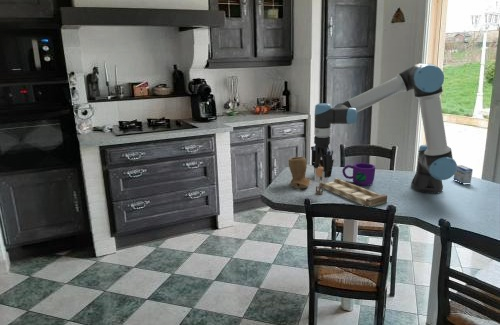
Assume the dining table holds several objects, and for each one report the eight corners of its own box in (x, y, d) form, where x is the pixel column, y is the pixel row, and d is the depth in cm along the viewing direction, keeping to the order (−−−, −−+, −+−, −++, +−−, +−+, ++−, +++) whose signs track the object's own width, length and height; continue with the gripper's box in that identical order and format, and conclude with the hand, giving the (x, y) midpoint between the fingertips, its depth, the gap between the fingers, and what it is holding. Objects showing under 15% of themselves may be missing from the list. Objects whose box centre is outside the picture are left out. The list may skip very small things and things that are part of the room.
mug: (376, 182, 213) (377, 164, 210) (370, 188, 204) (372, 169, 201) (345, 177, 222) (346, 160, 219) (338, 182, 212) (339, 165, 210)
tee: (323, 193, 196) (324, 187, 195) (318, 195, 194) (319, 188, 193) (319, 191, 199) (319, 185, 198) (314, 193, 197) (315, 186, 196)
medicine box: (452, 180, 216) (455, 165, 213) (459, 179, 217) (462, 164, 214) (463, 185, 208) (466, 169, 206) (470, 184, 209) (473, 168, 207)
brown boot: (290, 179, 218) (290, 153, 214) (311, 181, 215) (312, 155, 211) (284, 188, 204) (285, 160, 200) (307, 190, 201) (308, 162, 197)
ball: (328, 176, 193) (328, 167, 192) (320, 178, 191) (320, 169, 189) (321, 174, 197) (321, 164, 196) (313, 176, 195) (314, 166, 193)
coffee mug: (332, 177, 220) (334, 160, 218) (317, 176, 222) (318, 160, 219) (332, 171, 231) (333, 155, 228) (318, 170, 233) (319, 154, 230)
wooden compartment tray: (386, 202, 185) (387, 195, 184) (368, 207, 179) (369, 200, 178) (336, 182, 213) (336, 176, 212) (319, 186, 207) (319, 179, 206)
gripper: (304, 134, 194) (303, 178, 200) (329, 140, 179) (327, 188, 185) (315, 132, 198) (314, 175, 204) (341, 138, 183) (339, 185, 189)
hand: (320, 181), depth 195 cm, fingers closed on ball, 5 cm apart
